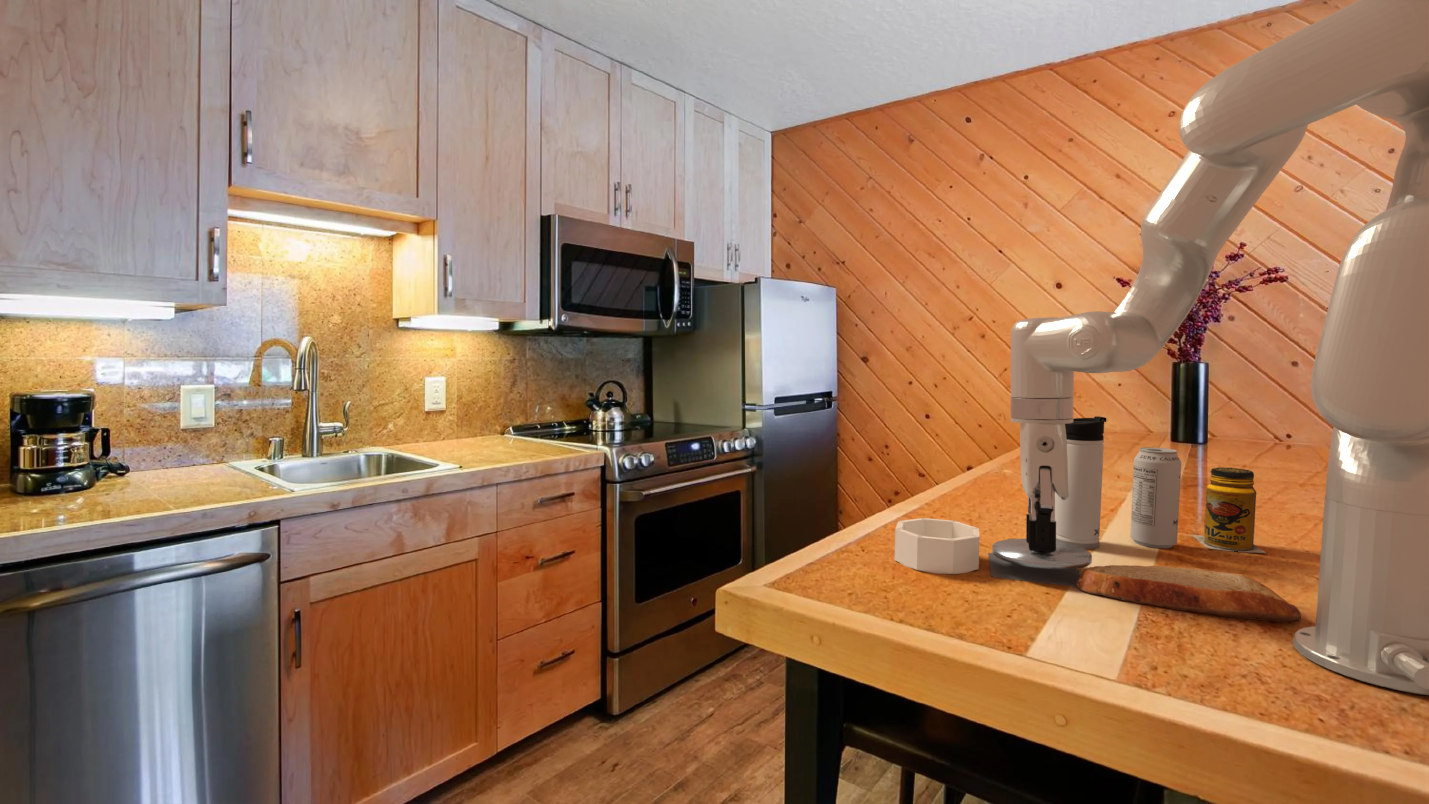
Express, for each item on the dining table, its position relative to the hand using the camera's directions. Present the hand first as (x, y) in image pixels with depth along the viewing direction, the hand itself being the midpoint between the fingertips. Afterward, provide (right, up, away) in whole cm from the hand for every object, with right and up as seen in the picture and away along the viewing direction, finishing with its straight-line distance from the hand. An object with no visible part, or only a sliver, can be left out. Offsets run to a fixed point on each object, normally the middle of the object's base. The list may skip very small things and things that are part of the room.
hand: (1040, 545), depth 89 cm
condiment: (+36, -3, +14) cm, 39 cm away
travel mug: (+12, -3, +13) cm, 18 cm away
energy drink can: (+24, -3, +13) cm, 27 cm away
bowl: (-13, -3, +4) cm, 14 cm away
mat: (-1, -4, +1) cm, 4 cm away
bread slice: (+12, -5, -10) cm, 16 cm away
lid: (0, -1, 0) cm, 1 cm away
